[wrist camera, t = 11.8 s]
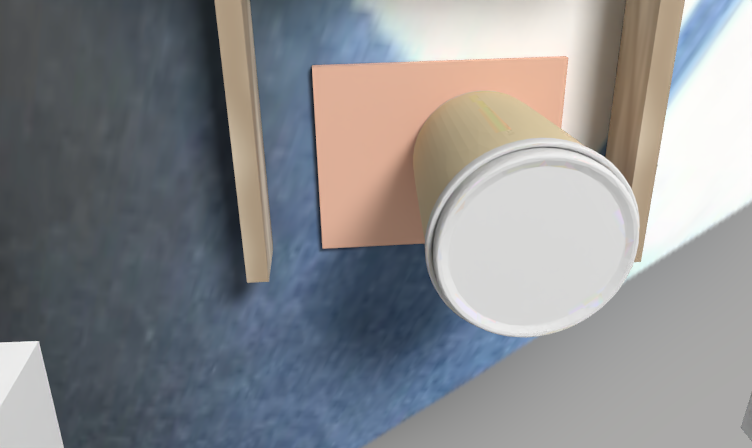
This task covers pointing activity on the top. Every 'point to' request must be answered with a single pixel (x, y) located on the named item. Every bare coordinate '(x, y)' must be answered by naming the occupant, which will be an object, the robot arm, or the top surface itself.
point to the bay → (625, 138)
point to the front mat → (401, 134)
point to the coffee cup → (519, 217)
